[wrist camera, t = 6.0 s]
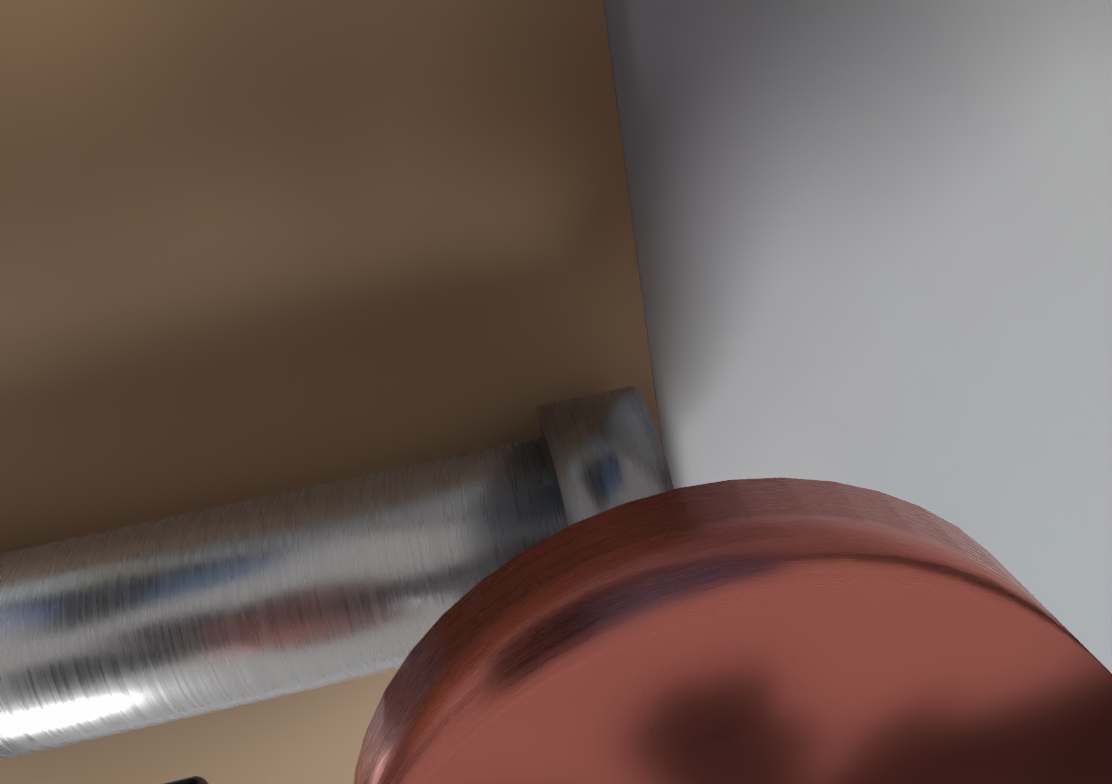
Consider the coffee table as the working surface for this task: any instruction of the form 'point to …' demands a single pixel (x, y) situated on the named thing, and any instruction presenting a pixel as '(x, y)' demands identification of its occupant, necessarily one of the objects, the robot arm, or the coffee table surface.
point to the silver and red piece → (568, 625)
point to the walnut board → (292, 282)
